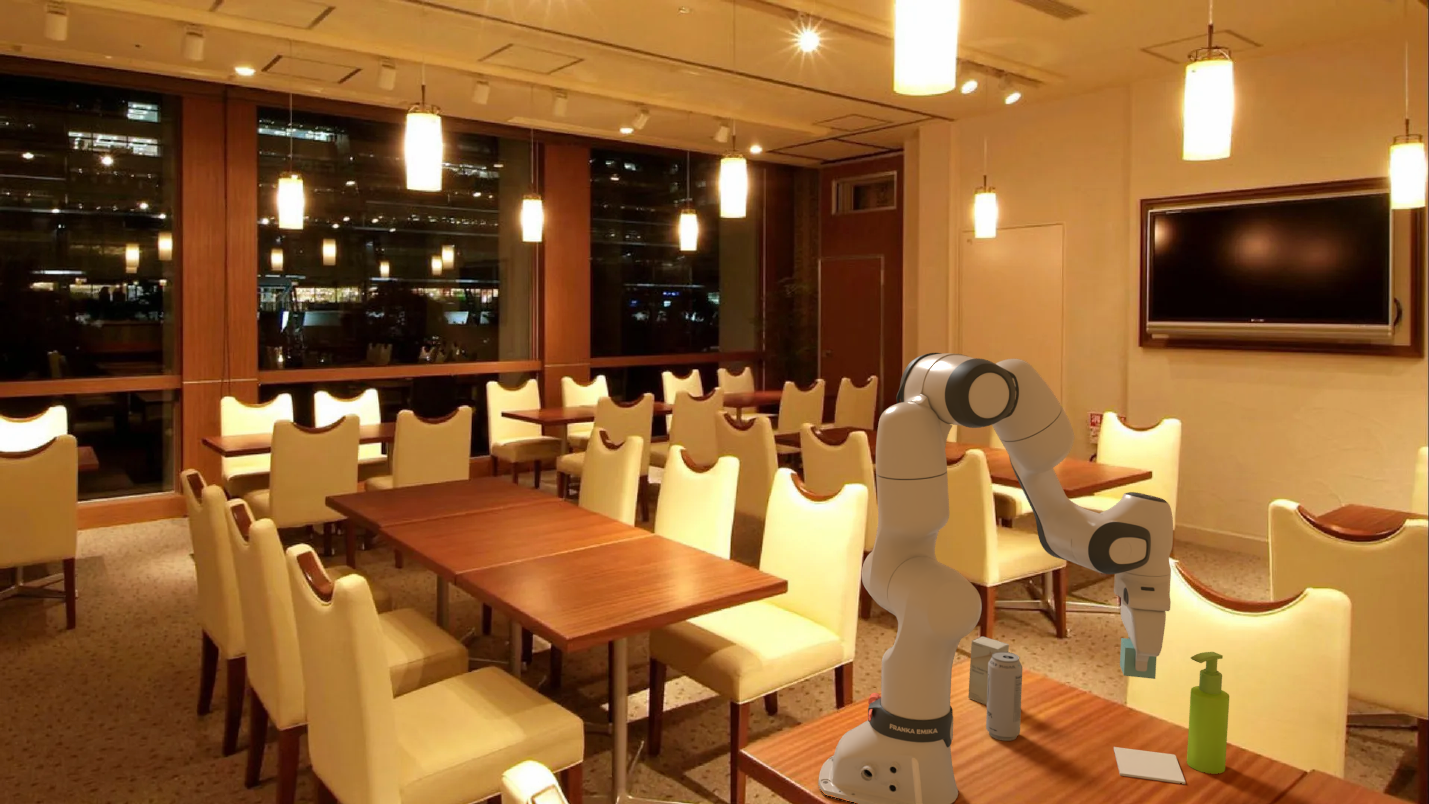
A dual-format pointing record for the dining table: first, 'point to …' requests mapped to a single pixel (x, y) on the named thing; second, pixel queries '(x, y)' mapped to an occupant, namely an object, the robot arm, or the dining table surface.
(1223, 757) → the soap dispenser
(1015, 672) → the energy drink can
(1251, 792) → the dining table surface
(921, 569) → the robot arm
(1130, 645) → the block
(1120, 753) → the coaster
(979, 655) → the skincare box
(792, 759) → the dining table surface
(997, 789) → the dining table surface
